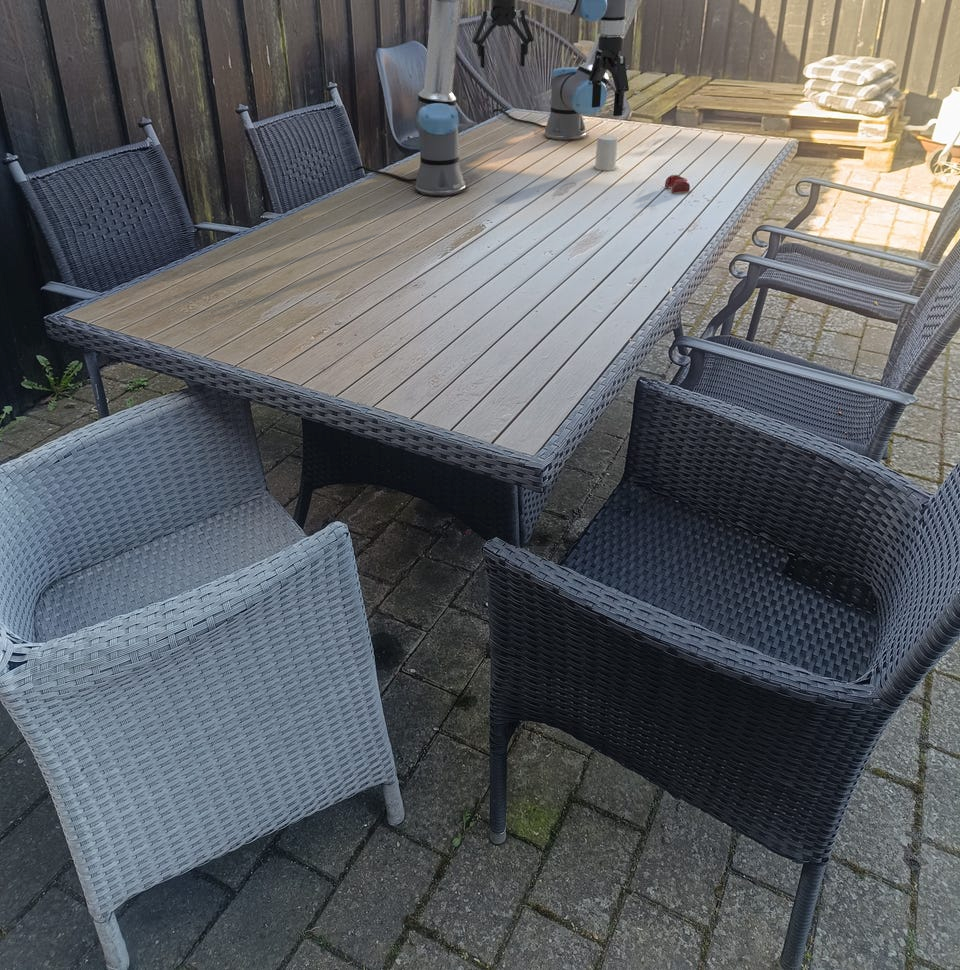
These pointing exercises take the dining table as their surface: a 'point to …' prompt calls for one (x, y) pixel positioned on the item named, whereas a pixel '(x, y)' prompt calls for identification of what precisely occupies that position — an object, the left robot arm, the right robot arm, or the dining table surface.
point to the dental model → (677, 183)
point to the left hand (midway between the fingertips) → (606, 111)
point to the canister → (606, 152)
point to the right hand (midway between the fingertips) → (502, 66)
